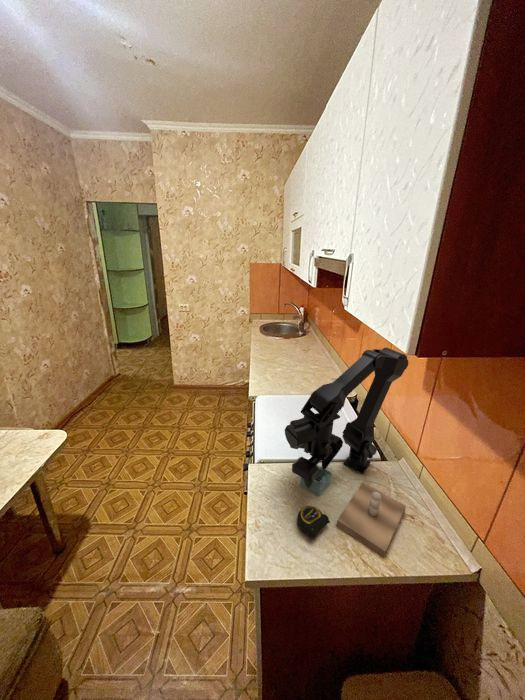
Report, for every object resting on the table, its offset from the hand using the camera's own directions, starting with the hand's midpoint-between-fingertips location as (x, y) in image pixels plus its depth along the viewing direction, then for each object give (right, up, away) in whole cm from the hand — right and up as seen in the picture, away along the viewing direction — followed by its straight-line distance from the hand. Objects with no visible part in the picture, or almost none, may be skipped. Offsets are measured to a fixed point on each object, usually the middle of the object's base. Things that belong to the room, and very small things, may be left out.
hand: (316, 477), depth 86 cm
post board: (+13, -7, -9) cm, 17 cm away
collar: (0, -2, +1) cm, 3 cm away
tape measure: (-3, -8, -12) cm, 14 cm away
